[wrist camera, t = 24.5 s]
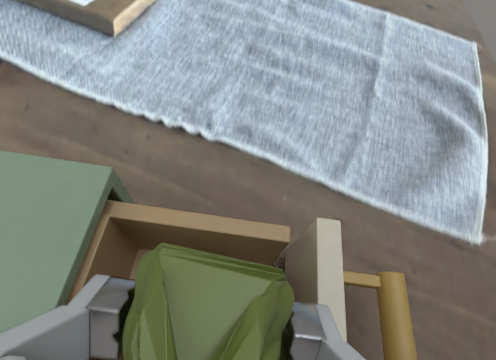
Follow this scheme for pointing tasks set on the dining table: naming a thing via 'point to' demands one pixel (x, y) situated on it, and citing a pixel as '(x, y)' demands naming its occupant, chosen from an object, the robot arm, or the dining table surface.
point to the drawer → (250, 260)
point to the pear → (205, 308)
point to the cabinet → (47, 229)
